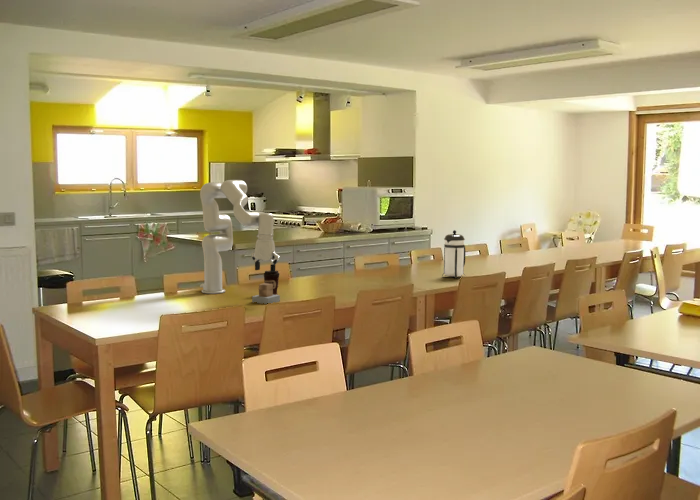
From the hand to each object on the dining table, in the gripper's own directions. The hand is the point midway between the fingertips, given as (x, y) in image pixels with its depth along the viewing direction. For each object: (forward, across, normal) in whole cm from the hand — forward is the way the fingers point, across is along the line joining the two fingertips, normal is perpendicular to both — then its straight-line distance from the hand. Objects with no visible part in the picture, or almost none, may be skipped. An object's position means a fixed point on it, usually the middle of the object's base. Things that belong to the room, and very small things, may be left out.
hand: (265, 271), depth 363 cm
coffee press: (+15, +48, +135) cm, 144 cm away
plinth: (+16, +1, 0) cm, 16 cm away
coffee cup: (+16, -9, +18) cm, 26 cm away
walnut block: (+13, +1, 0) cm, 13 cm away
